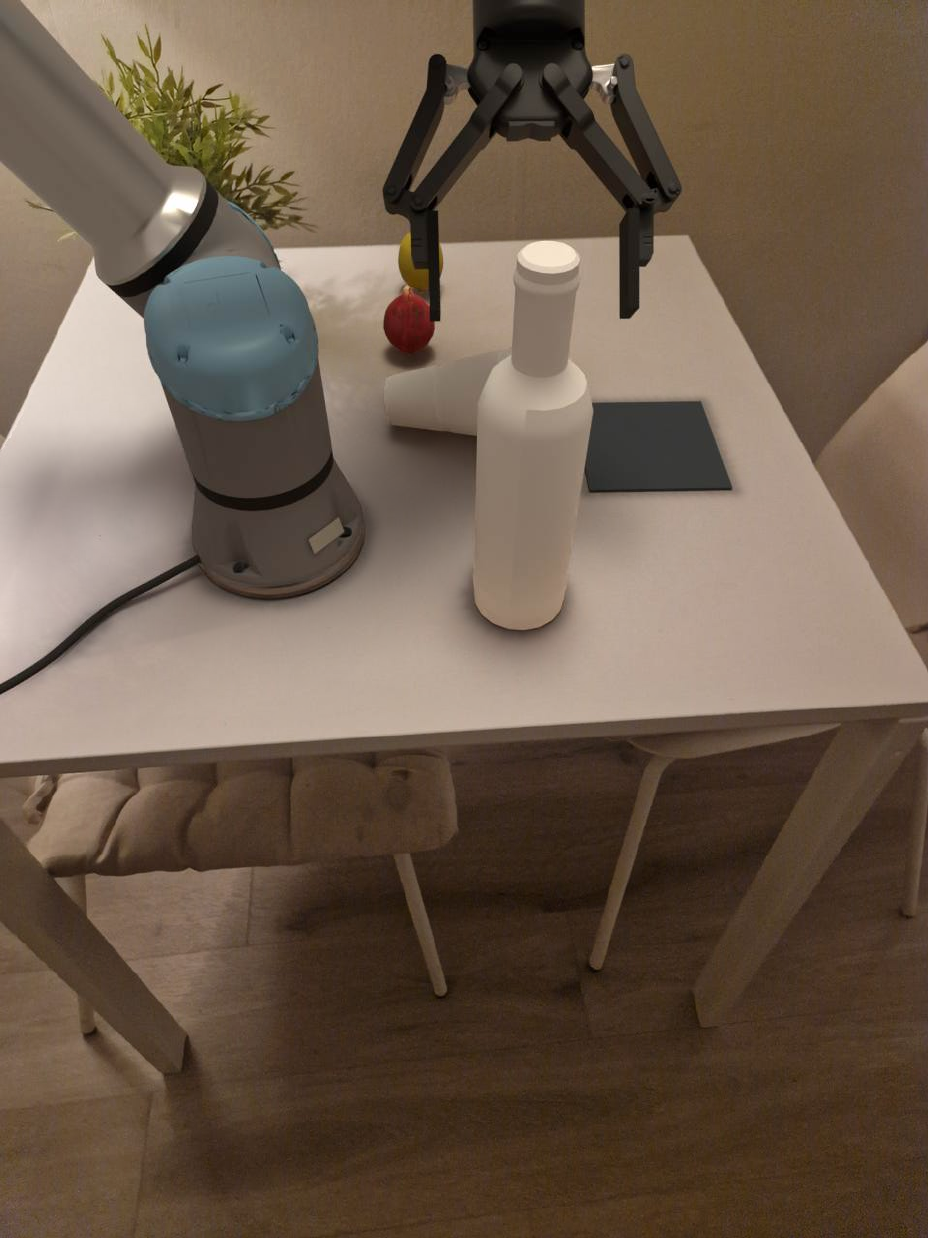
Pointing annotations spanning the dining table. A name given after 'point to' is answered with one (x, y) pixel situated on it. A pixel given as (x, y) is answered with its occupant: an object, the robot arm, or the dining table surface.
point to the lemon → (410, 275)
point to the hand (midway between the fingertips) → (532, 315)
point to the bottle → (531, 448)
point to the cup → (441, 394)
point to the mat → (653, 448)
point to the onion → (408, 322)
